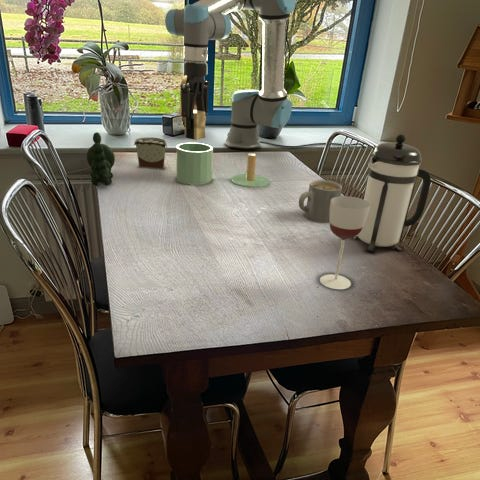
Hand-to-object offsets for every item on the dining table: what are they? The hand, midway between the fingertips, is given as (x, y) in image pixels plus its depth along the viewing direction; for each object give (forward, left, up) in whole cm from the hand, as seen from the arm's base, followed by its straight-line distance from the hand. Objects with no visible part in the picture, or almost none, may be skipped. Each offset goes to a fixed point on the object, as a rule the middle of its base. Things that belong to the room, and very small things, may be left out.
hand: (194, 136), depth 172 cm
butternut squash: (-37, -66, -15) cm, 77 cm away
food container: (+6, -21, -15) cm, 27 cm away
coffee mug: (-17, +47, -15) cm, 52 cm away
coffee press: (-20, +71, -15) cm, 75 cm away
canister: (0, 0, -15) cm, 15 cm away
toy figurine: (+30, -12, -15) cm, 36 cm away
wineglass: (+8, +82, -15) cm, 84 cm away
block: (0, 0, 0) cm, 0 cm away
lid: (-17, +11, -14) cm, 25 cm away
